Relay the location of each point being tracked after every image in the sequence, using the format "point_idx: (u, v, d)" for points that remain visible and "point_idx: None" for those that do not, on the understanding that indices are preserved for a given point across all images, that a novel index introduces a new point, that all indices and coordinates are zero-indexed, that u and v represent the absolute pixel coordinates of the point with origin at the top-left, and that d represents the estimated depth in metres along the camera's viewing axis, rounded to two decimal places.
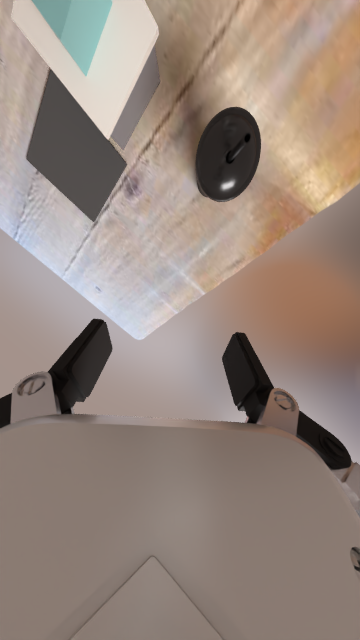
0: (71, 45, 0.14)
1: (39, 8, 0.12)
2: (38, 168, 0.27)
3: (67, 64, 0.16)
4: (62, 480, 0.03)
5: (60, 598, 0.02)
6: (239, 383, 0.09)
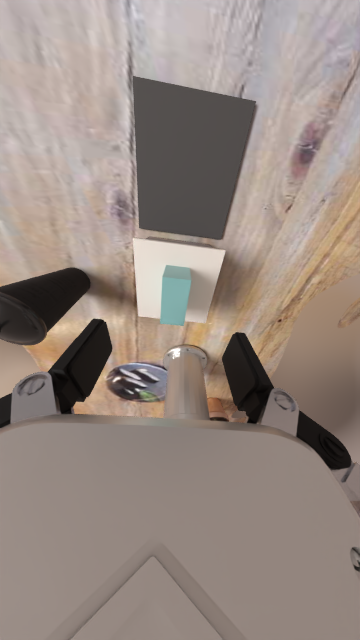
0: None
1: (180, 279, 0.14)
2: (237, 102, 0.15)
3: (181, 259, 0.18)
4: (62, 480, 0.03)
5: (60, 598, 0.02)
6: (239, 383, 0.09)
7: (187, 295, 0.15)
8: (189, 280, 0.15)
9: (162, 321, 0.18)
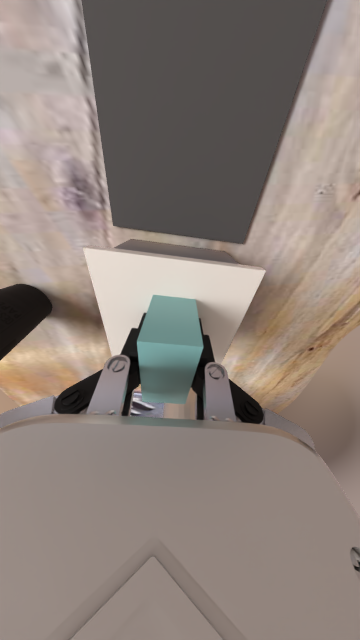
0: None
1: (177, 346, 0.06)
2: None
3: (180, 286, 0.09)
4: (62, 480, 0.03)
5: (60, 598, 0.02)
6: None
7: (193, 369, 0.07)
8: (198, 346, 0.06)
9: (146, 399, 0.10)
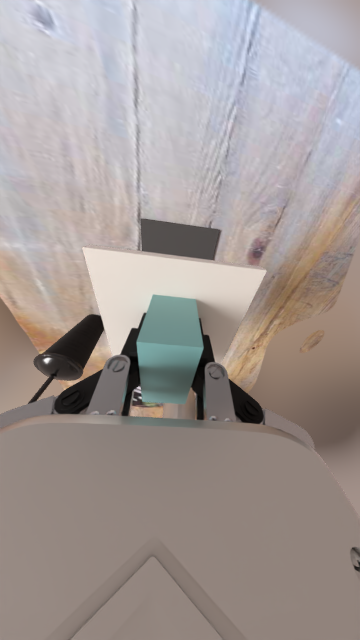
0: None
1: (177, 346, 0.06)
2: (207, 230, 0.23)
3: (181, 286, 0.09)
4: (62, 480, 0.03)
5: (60, 598, 0.02)
6: None
7: (193, 369, 0.07)
8: (198, 347, 0.06)
9: (146, 399, 0.10)
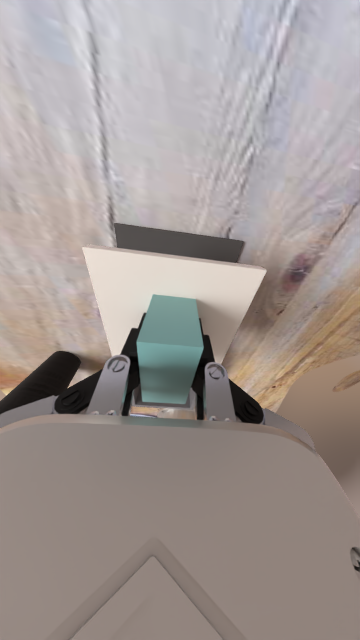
0: None
1: (177, 346, 0.06)
2: (224, 242, 0.15)
3: (181, 286, 0.09)
4: (62, 480, 0.03)
5: (60, 598, 0.02)
6: None
7: (193, 369, 0.07)
8: (199, 347, 0.06)
9: (146, 399, 0.10)
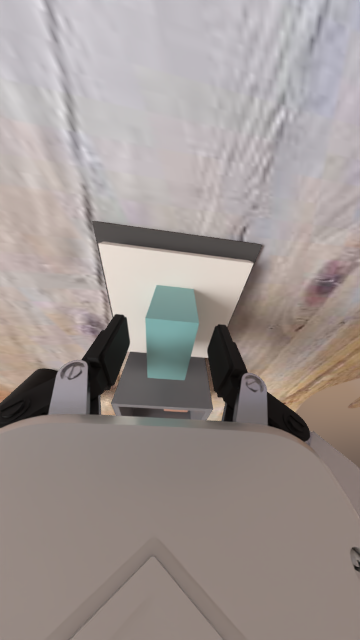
0: None
1: (178, 322, 0.08)
2: (237, 246, 0.11)
3: (180, 277, 0.11)
4: (62, 480, 0.03)
5: (60, 598, 0.02)
6: (218, 370, 0.09)
7: (191, 344, 0.09)
8: (195, 323, 0.08)
9: (151, 375, 0.11)
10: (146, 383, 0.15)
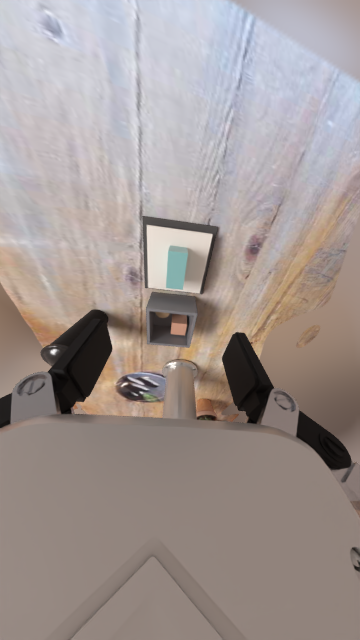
0: None
1: (180, 253, 0.21)
2: (206, 227, 0.25)
3: (181, 241, 0.24)
4: (62, 480, 0.03)
5: (60, 598, 0.02)
6: (239, 383, 0.09)
7: (185, 265, 0.22)
8: (186, 253, 0.21)
9: (167, 286, 0.24)
10: (162, 303, 0.29)
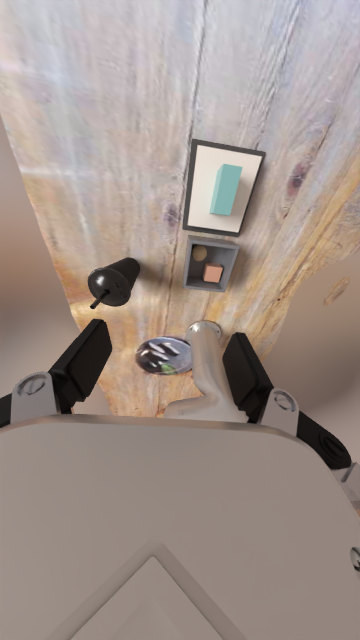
0: (220, 170, 0.23)
1: (235, 166, 0.21)
2: (254, 152, 0.25)
3: None
4: (62, 480, 0.03)
5: (60, 598, 0.02)
6: (239, 383, 0.09)
7: (237, 182, 0.22)
8: (241, 167, 0.21)
9: (215, 210, 0.25)
10: (203, 239, 0.29)
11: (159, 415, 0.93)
